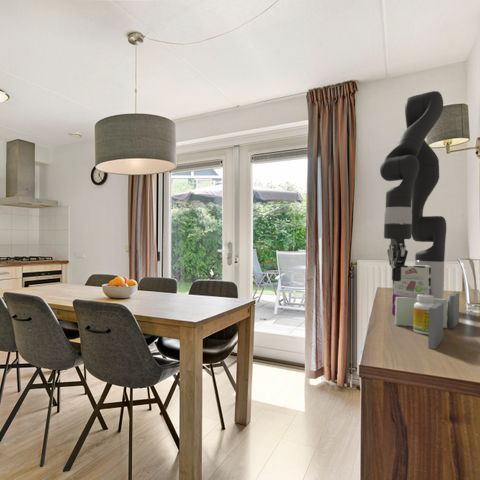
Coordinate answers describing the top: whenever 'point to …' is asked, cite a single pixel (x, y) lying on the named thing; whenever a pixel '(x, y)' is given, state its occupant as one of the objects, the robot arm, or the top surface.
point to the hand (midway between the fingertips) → (396, 280)
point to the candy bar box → (412, 283)
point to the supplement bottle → (422, 313)
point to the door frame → (437, 319)
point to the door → (406, 310)
